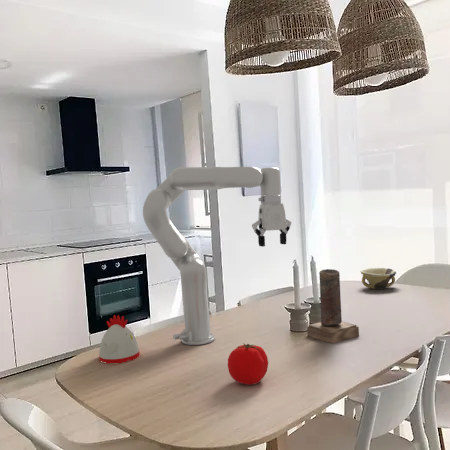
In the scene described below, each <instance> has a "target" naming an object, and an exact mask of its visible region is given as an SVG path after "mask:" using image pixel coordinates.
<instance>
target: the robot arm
mask: <svg viewBox="0 0 450 450" xmlns="http://www.w3.org/2000/svg"><path fill="white" fill-rule="evenodd" d="M256 187H260V197H258V201H259V202H260V204H259V209H258V220H257V221H255V222H254V223H252V224H251V227H252V230H253V231H254V232H253V233H255V234H256V236H257V240H258V241H257V243H258V246H259V247H262V248H263V247H266V237H265V236H264V234H265V233H266V231H268V232H270V231H279V232H280V233H279V243H280V245H287V234H288V231H290V228H291V226H292V221H291V220H288V219H287V216H286V210H285V206H284V203H282V199H281V198H282V197H281V193H282V192H281V191H282V190H281V171H280V169H279V168H278V167H276V166H275V167H274V166H273V167H272V166H271V167H270V166H269V167H263V168H258V167H255V166H195V167H194V166H191V167H189V166H188V167H187V166H186V167H185V166H184V167H182V166H181V167H176V168H174V169H173V170H172V171H171V173H170V174H169V175H168V176H167V178H166V179H165V180H164V181H163V182H161V183H160V184H159V185H158V186H157V187H156V188H155V189H152V190H151V191H150V192H149V193H148V195H147V196H146V198H145V201H144V203H143V205H142V206H143V207H142V218H143V221H144V223H145V226H146V227H147V229H148V230H149V232H150V233H151V235H152V236H153V238H154V239H155V240H156V242H157V243H158V244H159V246H160V247H161V249H162V251H163V252H164V254H165V255H166V256H167V257H168V258H170V260H171V261H172V263H174V265H175V266H176V268H177V270H179V274H180V286H181V296H182V297H181V299H182V307H183V308H182V309H183V320H184V321H183V323H184V329H182V332H180V333H175V334H173V335H172V337H173V340H174V341H175V340H180V341H181V342H182V344H184V345H187V346H200V345H205V344H209V343H212V342H214V341H215V339H216V336H215V334H213V333H211V323H210V322H211V321H210V309H209V296H208V282H207V281H208V279H207V278H208V276H207V267H206V265H205V263H204V261H203V260H202V258H201V257H200V255H199V254H198V253H197V252H196V250H195V249H194V247H193V246H192V245H191V244H190V243H191V242H190V241H188V238H186V237H185V236H184V235H183V234H181V232H180V231H179V230H178V229H177V227H176V226H175V225H174V223H173V222H172V220H171V219H170V218H169V216H168V214H167V209H168V208H169V207H170V206H171V205H172V204H173V203H174V202H175V201H176V200H177V199H178V198H179V197H180V196H182V194H183V193H184V192H185V191H215V190H217V191H218V190H222V189H227V188H228V189H232V188H233V189H234V188H236V189H237V188H246V189H251V188H252V189H253V188H256Z"/></svg>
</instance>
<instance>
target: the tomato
mask: <svg viewBox="0 0 450 450" xmlns="http://www.w3.org/2000/svg"><path fill="white" fill-rule="evenodd" d="M268 359H269V358H268V355H267V353H266V351H265V350H264V349H263V347H261V346H259V345H255V344H249V343H247V344H245V343H243V344H241V345H239V346H236V347H235V348H234V349H233V350H232V351H231V352H230V353H229V355H228V359H227V369H228V373H229V375H230V377H231V378H232V380H234V381H236V382H237V383H239V384H243V385H247V386H248V385H249V386H250V385H257V384H258V383H260V382H261V380H263V378H264V377H265V376H266V374H267V372H268V366H269V360H268Z"/></svg>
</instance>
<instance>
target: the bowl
mask: <svg viewBox="0 0 450 450" xmlns="http://www.w3.org/2000/svg"><path fill="white" fill-rule="evenodd" d="M360 274H361V275H362V278H361V283H362V285H363V286H364V287H366V288H368V289H374V290H385V289H386V288H389V287H391V286H394V284H395V282H396V277H395V276H396V274H397V271H396V270H395V269H391V268H386V267H375V268H366V269H365V268H364V269H361V270H360ZM366 280H367V282H368V283H367V282H366ZM390 281H391V282H390Z"/></svg>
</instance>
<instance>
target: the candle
mask: <svg viewBox="0 0 450 450" xmlns="http://www.w3.org/2000/svg"><path fill="white" fill-rule="evenodd" d="M318 273H319V274H318V275H319V294H320V295H319V296H320V298H319V299H320V322H321V324H323V325H325V326H327V325H328V326H337V325H338V324H340V323H341V322H342V321H343V320H342V302H341V301H342V299H341V298H342V297H341V280H340V279H341V277H340V274H341V273H340V271H338V270H337V269H332V268H331V269H330V268H327V269H321V270H320V271H319V272H318Z"/></svg>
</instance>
